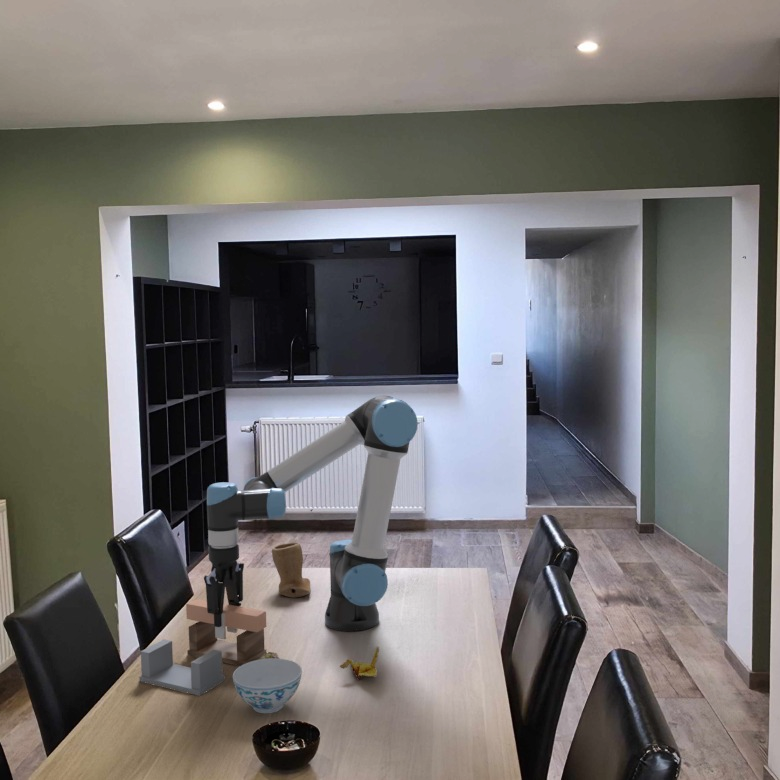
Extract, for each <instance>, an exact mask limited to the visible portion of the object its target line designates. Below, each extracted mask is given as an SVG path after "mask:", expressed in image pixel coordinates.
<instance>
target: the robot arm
mask: <svg viewBox="0 0 780 780" xmlns="http://www.w3.org/2000/svg"><path fill="white" fill-rule="evenodd" d="M417 418H418V417H417V414H416V412H415V410H414V409H413V408H412V407H411V405H409V404H408V403H407V402H405V401H404V400H403V399H400V398H397V397H396V398H395V397H392V396H389V395H377V396H374V397H372V398H370V399H368V400H367V401H365V402H364V403H363V404H361V405H360V406H359V407H357V408H356V409H354V410H353V411H352V412H350V413H348V414H347V415H345V418H344V421H343V422H342V423H340V424H338V425H336V426H335V427H334V428H331V430H329V431H327V432H326V433H324V434H322V435H321V436H320V437H318V438H317V439H315V440H314V441H312V442H310V443H309V444H308V445H306V446H303V448H301V449H300V450H298V451H296V452H295V453H294V454H291V456H288V457H287V458H286V459H284V460H282V461H281V462H279V463H278V464H277V465H275V466H273V467H272V468H270V469H269V470H267V471H266V472H264V473H263V474H260V475H259V476H255V477H252V478H250V479H248V480H247V481H246V482H245V483H244V486H243V489H242V490H240V489H238V486H237V484H236V483H235V482H229V481H228V482H226V481H225V482H224V481H223V482H215V483H212V484H209V486H207V489H206V512H207V513H206V515H207V516H206V518H207V529H208V530H207V534H208V535H207V537H208V538H207V541H208V545H209V546H208V550H207V551H208V560H209V562H211V564H212V565H211V571H210V573H209V575H207V574H206V575H204V577H203V580H204V585H205V591H206V592H205V594H206V601H207V612H208V613H211V614H214V626H215V638H217V639H218V640H226V639H227V633H226V632H228V633H233V634H236V633H238V629H237V628H231V627H226V626H225V613H223V605H224V604H225V603H224V602H225V593H226V597H227V605H233V606H239V607H242V603H241V602H243V600H244V595H243V594H244V580H243V579H244V576H243V575H244V574H243V573H244V568H245V564H244V563H243V562H238V560H239V558H240V546H239V544H238V543H239V542H240V535H239V521H251V520H252V521H254V520H267V519H270V520H273V519H278V518H279V519H280V518H283V517H284V516H285V515H286V510H287V509H286V507H287V505H286V502H287V501H286V494H285V493H287V492H288V491H291V490H292V489H293V488H294V487H296V486H298V485H299V484H301V483H303V482H304V481H305V480H307V479H308V478H310V477H312V476H313V475H314V474H316V473H317V472H319V471H321V470H322V469H324V468H326V467H327V466H329V465H330V464H332V463H333V462H334V461H336V460H338V459H340V458H341V457H342V456H344V455H346V454H347V453H349V452H350V451H351V450H353V449H355V448H357V447H358V446H359V445H360V446H361V445H362V446H364V448H365V449H366V451H367V457H366V458H367V459H366V463H365V468H364V474H363V480H362V485H361V489H360V490H361V491H360V494H359V496H360V497H359V500H358V501H359V502H358V507H357V512H356V517H355V522H354V523H355V524H354V527H353V528H354V529H353V532H352V539H343V540H337V541H334V542H332V543H331V544H330V546H329V553H328V555H329V570H330V571H329V572H330V577H329V578H330V597H329V600H328V603H327V607H326V609H325V613H324V623H325V626H327V627H328V628H330V629H332V630H335V629H336V630H335V631H341V632H359V631H364V630H365V631H366V630H369V629H371V628H373V627H375V626H377V625H378V624H379V621H380V612H379V609H378V607H377V603H378V602H379V601H381V600H382V598H383V597H384V596H385V595H386V592H387V590H388V586H389V583H388V582H389V581H388V576H387V573H386V570H387V569H386V568H387V565H388V564H387V563H388V559H389V553H388V552H387V550H386V549H385V544H386V543H385V542H386V538H387V533H388V528H389V522H390V517H391V510H392V506H393V501H394V495H395V490H396V485H397V480H398V474H399V468H400V464H401V459H402V458H403V457H405V456H406V455H408V452H409V447H410V442H411V441H412V440H413V438H414V437H415V436H416V433H417V430H418V419H417ZM225 591H226V592H225Z"/></svg>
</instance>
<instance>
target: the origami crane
mask: <svg viewBox="0 0 780 780" xmlns="http://www.w3.org/2000/svg"><path fill="white" fill-rule="evenodd" d="M379 651H380V647H379V646H376V647H375V651H374V652H373V658H372V660H371V663H368V662H367V663H366V662H365V663H364V662H353V661H354V660H353V659H349V658H347V659H346V660H345V661H343V663H342V664H340V666H339V668H340V669H346V668H348V667H349V666H350V668H351V669H350V670H351V671H352V672H354V675H355V677H356V679H357V680H358V679H361V677H363V676H364V677H365V676H366V677H373V678H377V675H378V674H377V673H378V668H376V666H377V661H378V656H379V655H378V653H379Z"/></svg>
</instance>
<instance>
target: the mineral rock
mask: <svg viewBox="0 0 780 780" xmlns="http://www.w3.org/2000/svg"><path fill="white" fill-rule="evenodd" d="M269 658H278V659H281V658H280V657H279V655H278V654H277V652H274V651H268V652H267V653H264V654H263V655H261V656H259V657H258V659H257V660H260V659H269ZM253 661H255V660H253Z"/></svg>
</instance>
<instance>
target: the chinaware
mask: <svg viewBox="0 0 780 780" xmlns="http://www.w3.org/2000/svg"><path fill="white" fill-rule="evenodd" d="M302 673H303V670H302V666H301V665H300V664H298V663H297V662H296V661H293V660H289V659H285V658H280V659H278V658H269V659H260V660H255V661H251V662H248V663H246V664H243V665H242V666H237V668H236V669H235V670H234V671H233V674H232V681H233V684H234V687H235V690H236V692H237V693H238V695H239V697H240V698H241V699H242V700H243V701H244V702H245V703H247V704H248V705H249V706H251V707H252V708H253V711H255V712H257V713H261V714H272V713H276V712H279V711H281V710H282V709H283V708H284V706H285V704H286V703H287V702H288V701H289V700H290V699H292V697H293V696H294V694H295V693H296V692H297V690H298V688H299V686H300V684H301V683H300V682H301V680H302V675H303V674H302Z"/></svg>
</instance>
